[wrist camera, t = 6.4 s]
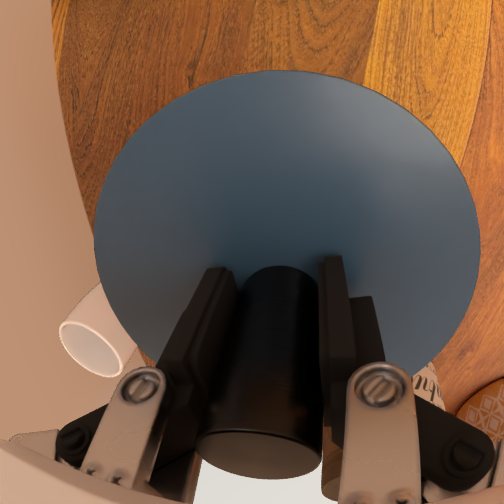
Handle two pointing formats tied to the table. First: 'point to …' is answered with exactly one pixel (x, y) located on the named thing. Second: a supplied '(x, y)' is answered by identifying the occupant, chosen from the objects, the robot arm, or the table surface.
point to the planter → (486, 410)
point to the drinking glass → (96, 335)
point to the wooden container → (333, 455)
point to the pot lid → (285, 244)
